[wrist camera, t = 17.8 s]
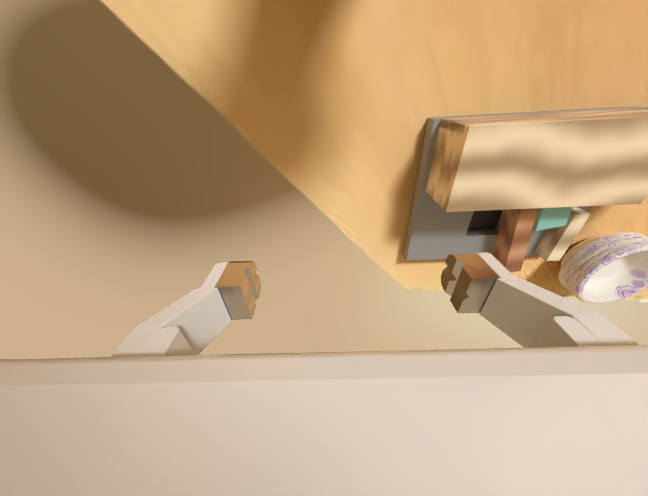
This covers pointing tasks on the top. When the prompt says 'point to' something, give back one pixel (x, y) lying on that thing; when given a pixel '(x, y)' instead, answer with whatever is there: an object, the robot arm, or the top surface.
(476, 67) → the top surface
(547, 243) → the stick
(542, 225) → the block
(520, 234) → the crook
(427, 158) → the board
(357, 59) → the top surface
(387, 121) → the top surface
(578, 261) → the paper bowls
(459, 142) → the shelf
